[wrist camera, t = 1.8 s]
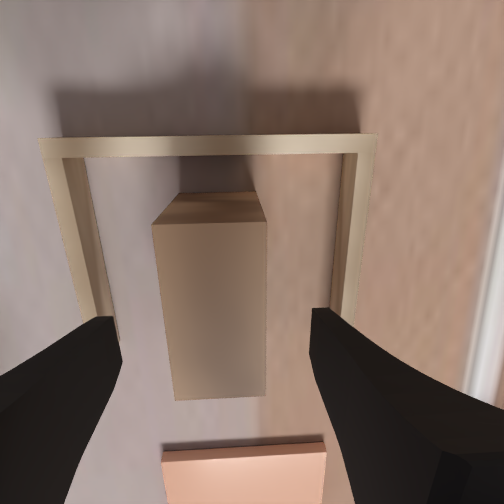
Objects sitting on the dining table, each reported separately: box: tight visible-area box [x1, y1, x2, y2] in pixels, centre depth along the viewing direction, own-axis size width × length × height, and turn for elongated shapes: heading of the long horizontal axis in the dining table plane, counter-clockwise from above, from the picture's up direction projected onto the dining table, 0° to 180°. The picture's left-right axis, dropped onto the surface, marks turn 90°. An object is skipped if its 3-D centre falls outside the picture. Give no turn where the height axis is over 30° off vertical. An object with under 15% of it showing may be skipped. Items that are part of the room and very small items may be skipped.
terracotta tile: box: [161, 442, 327, 504], centre depth 25 cm, size 12×12×1 cm
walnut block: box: [151, 191, 267, 401], centre depth 15 cm, size 4×8×6 cm, turn 1°
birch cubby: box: [38, 133, 378, 342], centre depth 16 cm, size 15×12×2 cm
